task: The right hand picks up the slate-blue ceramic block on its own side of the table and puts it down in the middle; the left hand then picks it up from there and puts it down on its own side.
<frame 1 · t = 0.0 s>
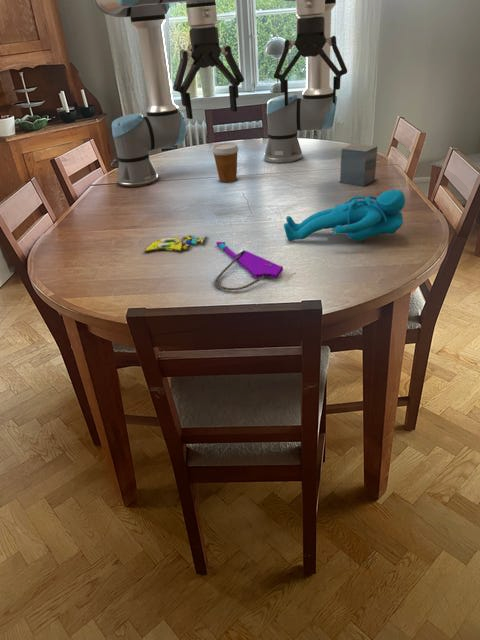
left hand: (212, 114, 136), 28 cm above the table, tool pointing down, fingers open, 13 cm apart
right hand: (310, 103, 138), 28 cm above the table, tool pointing down, fingers open, 13 cm apart
toy 2: (176, 245, 130), on the table
disposable coffee cup: (228, 180, 177), on the table
toy: (341, 238, 125), on the table
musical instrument: (235, 269, 115), on the table
block: (357, 181, 164), on the table
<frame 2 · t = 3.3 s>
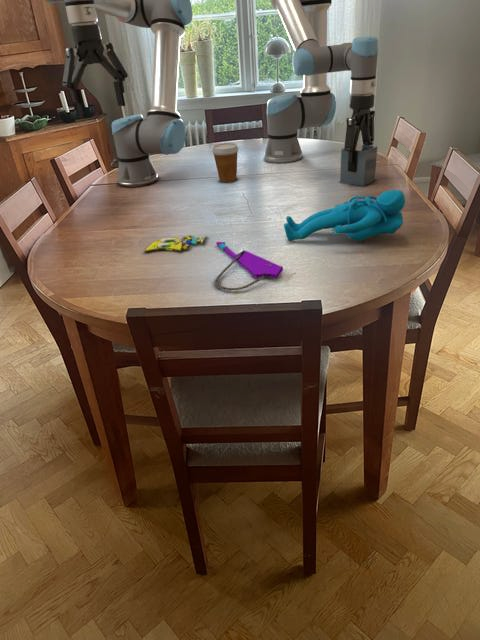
left hand: (102, 110, 139), 31 cm above the table, tool pointing down, fingers open, 13 cm apart
right hand: (358, 168, 162), 4 cm above the table, tool pointing down, fingers closed on block, 7 cm apart
block: (357, 181, 164), on the table, touching right hand
everything else where it was.
when the right hand's fingers open (5 cm above the table, at t = 9.6 s): block stays where it is, on the table.
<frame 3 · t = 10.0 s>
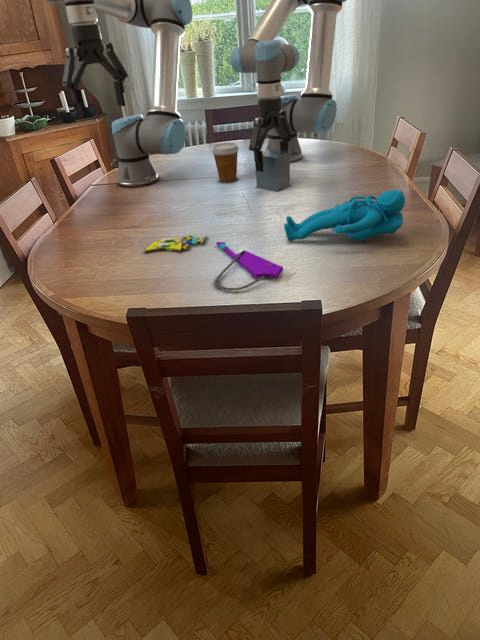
left hand: (102, 110, 139), 31 cm above the table, tool pointing down, fingers open, 13 cm apart
right hand: (272, 166, 162), 7 cm above the table, tool pointing down, fingers open, 13 cm apart
block: (273, 186, 166), on the table
everything else where it was.
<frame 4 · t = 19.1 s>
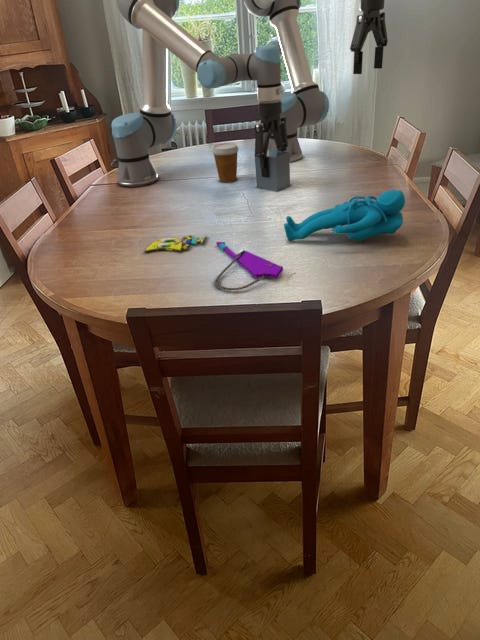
left hand: (272, 173, 164), 4 cm above the table, tool pointing down, fingers closed on block, 7 cm apart
right hand: (367, 71, 162), 31 cm above the table, tool pointing down, fingers open, 13 cm apart
block: (273, 186, 166), on the table, touching left hand
everything else where it was.
when the left hand's fingers open (5 cm above the table, at t = 26.9 s): block stays where it is, on the table.
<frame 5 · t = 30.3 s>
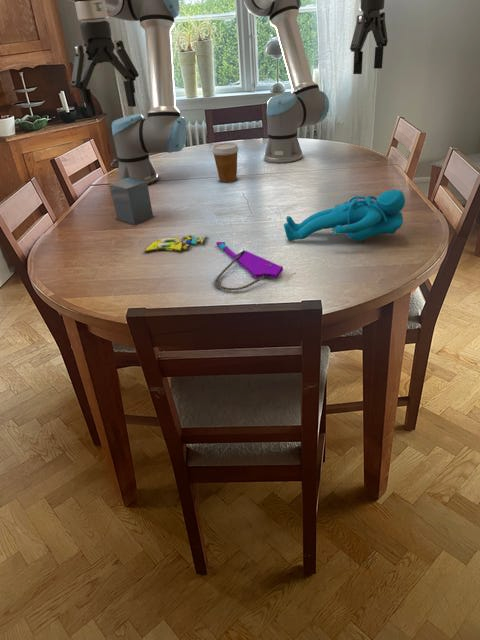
left hand: (112, 111, 133), 31 cm above the table, tool pointing down, fingers open, 13 cm apart
right hand: (367, 71, 162), 31 cm above the table, tool pointing down, fingers open, 13 cm apart
block: (135, 218, 151), on the table
everything else where it was.
at the end: block inside the target area (0.1 cm from its centre), on the table; block tilted 0°; the two hands never held the block at the same time; the left hand is holding nothing; the right hand is holding nothing; block at rest at the end (0.0 cm/s) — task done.
